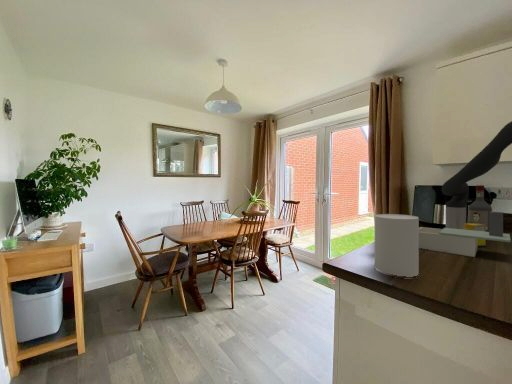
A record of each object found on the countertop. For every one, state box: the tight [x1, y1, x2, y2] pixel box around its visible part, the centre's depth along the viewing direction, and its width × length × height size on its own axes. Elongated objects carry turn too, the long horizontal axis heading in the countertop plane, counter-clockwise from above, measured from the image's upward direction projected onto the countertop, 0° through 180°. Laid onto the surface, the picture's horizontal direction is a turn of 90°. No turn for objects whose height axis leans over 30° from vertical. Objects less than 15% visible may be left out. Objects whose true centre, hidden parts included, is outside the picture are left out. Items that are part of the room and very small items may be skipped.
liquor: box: [467, 184, 493, 232], centre depth 140 cm, size 9×9×30 cm
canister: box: [374, 213, 420, 277], centre depth 81 cm, size 14×14×20 cm
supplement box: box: [463, 222, 487, 248], centre depth 113 cm, size 6×6×11 cm
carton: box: [419, 226, 478, 258], centre depth 108 cm, size 22×16×8 cm
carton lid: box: [439, 211, 511, 243], centre depth 101 cm, size 22×16×11 cm
